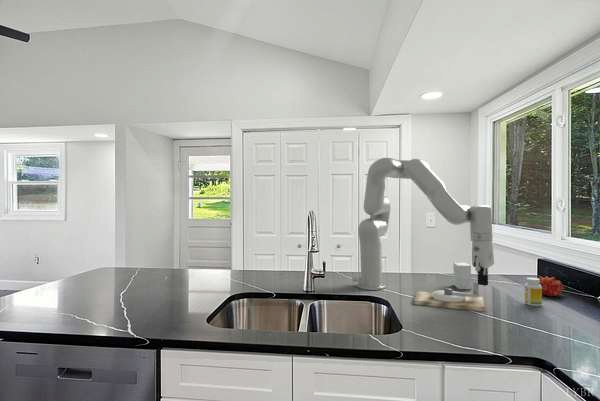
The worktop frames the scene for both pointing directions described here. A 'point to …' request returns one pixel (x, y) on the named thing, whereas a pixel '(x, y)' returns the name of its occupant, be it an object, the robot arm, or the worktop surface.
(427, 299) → the stand base
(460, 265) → the small box
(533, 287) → the supplement bottle
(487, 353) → the worktop surface
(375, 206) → the robot arm
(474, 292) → the dial
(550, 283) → the dragon fruit
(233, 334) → the worktop surface
